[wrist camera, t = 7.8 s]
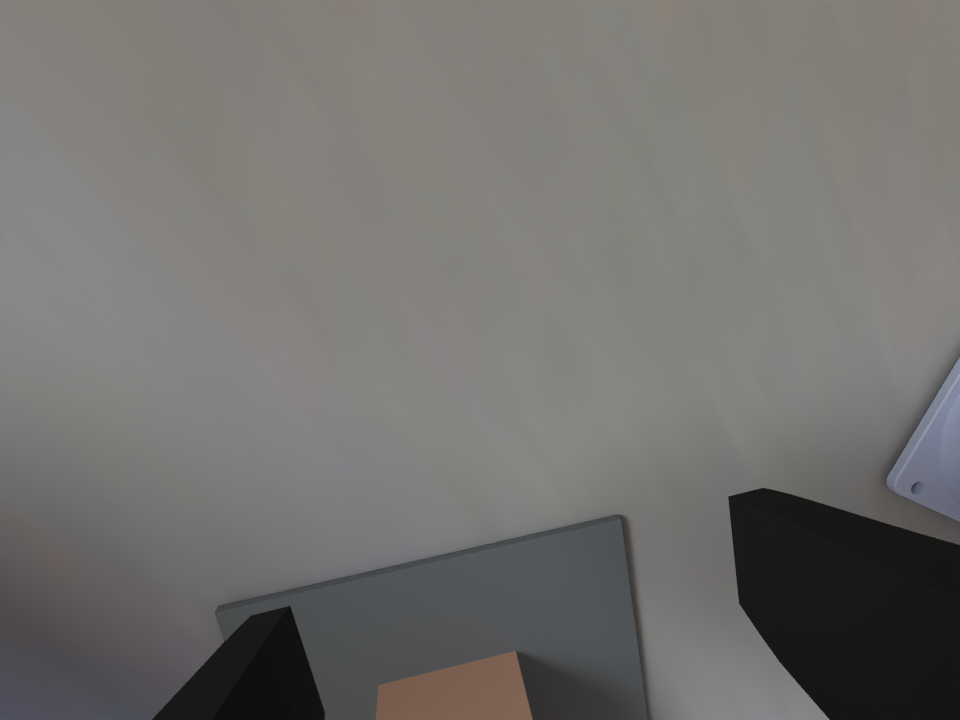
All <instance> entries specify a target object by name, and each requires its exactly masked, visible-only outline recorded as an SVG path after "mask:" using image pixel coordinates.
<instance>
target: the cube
mask: <svg viewBox="0 0 960 720" xmlns="http://www.w3.org/2000/svg"><path fill="white" fill-rule="evenodd" d="M376 720H533V719H532V715H531V711H530V707H529V703H528V699H527V695H526V691H525V687H524V683H523V678H522V674H521V670H520V666H519V662H518V658H517V654H516V651H513V652H509V653H505V654H501V655H497V656H493V657H489V658H485V659H481V660H477V661H473V662H469V663H465V664H461V665H457V666H453V667H449V668H445V669H441V670H437V671H433V672H429V673H425V674H421V675H417V676H413V677H409V678H405V679H401V680H397V681H393V682H389V683H385V684H381V685H378V697H377V709H376Z"/></svg>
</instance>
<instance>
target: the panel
mask: <svg viewBox="0 0 960 720" xmlns="http://www.w3.org/2000/svg"><path fill="white" fill-rule="evenodd" d="M287 606H291V609H292V612H293V615H294V618H295V622H296V625H297V628H298V631H299V634H300V637H301V640H302V643H303V646H304V649H305V652H306V655H307V659H308V662H309V665H310V668H311V671H312V674H313V677H314V680H315V683H316V686H317V689H318V693H319V696H320V699H321V702H322V705H323V708H324V711H325V720H376V709H377V697H378V685H381V684H385V683H389V682H393V681H397V680H401V679H405V678H409V677H413V676H417V675H421V674H425V673H429V672H433V671H437V670H441V669H445V668H449V667H453V666H457V665H461V664H465V663H469V662H473V661H477V660H481V659H485V658H489V657H493V656H497V655H501V654H505V653H509V652H513V651H516V654H517V658H518V662H519V666H520V670H521V674H522V678H523V683H524V687H525V691H526V695H527V699H528V703H529V707H530V711H531V715H532V719H533V720H648V717H647V710H646V702H645V695H644V687H643V680H642V672H641V665H640V657H639V650H638V642H637V635H636V627H635V620H634V612H633V605H632V597H631V590H630V582H629V575H628V567H627V559H626V552H625V544H624V537H623V529H622V522H621V518H620V517H619V515H615V516H610V517H606V518H602V519H597V520H593V521H589V522H584V523H580V524H576V525H571V526H567V527H562V528H558V529H554V530H549V531H545V532H541V533H536V534H532V535H528V536H523V537H519V538H515V539H510V540H506V541H502V542H497V543H493V544H488V545H484V546H480V547H475V548H471V549H467V550H462V551H458V552H454V553H449V554H445V555H441V556H436V557H432V558H427V559H423V560H419V561H414V562H410V563H406V564H401V565H397V566H393V567H388V568H384V569H380V570H375V571H371V572H367V573H362V574H358V575H353V576H349V577H345V578H340V579H336V580H332V581H327V582H323V583H319V584H314V585H310V586H306V587H301V588H297V589H292V590H288V591H284V592H279V593H275V594H271V595H266V596H262V597H258V598H253V599H249V600H245V601H240V602H236V603H232V604H227V605H223V606H218V608H217V610H216V612H215V614H216V617H217V620H218V623H219V626H220V629H221V632H222V635H223V638H224V641H226V640H227V639H228V638H229V637H230V636H231V635H232V634H233V633H234V632H235V631H236V630H237V629H238V628H239V627H240V626H241V625H242V624H243V623H244V622H245V621H246V620H247V619H248V618H249V617H250V616H251V615H255V614H259V613H263V612H267V611H271V610H275V609H279V608H283V607H287Z"/></svg>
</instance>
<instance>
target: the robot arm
mask: <svg viewBox="0 0 960 720" xmlns="http://www.w3.org/2000/svg"><path fill="white" fill-rule="evenodd" d="M913 484H914V486H913V487H912V485H913ZM887 486H888V488H889V489H890V490H891V491H892V492H894V493H896V494H898V495H900V496H903V497H905V498H907V499H909V500H912V501H914V502H916V503H918V504H920V505H923V506H925V507H927V508H929V509H932V510H934V511H936V512H938V513H940V514H943V515H945V516H947V517H949V518H952V519H954V520H956V521H958V522H960V357H959V359H958V360H957V362H956V364H955V365H954V367H953V369H952V370H951V372H950V374H949V375H948V377H947V379H946V380H945V382H944V384H943V385H942V387H941V389H940V390H939V392H938V394H937V395H936V397H935V399H934V400H933V402H932V404H931V405H930V407H929V409H928V410H927V412H926V414H925V415H924V417H923V419H922V420H921V422H920V424H919V425H918V427H917V429H916V430H915V432H914V433H913V435H912V437H911V438H910V440H909V442H908V443H907V445H906V447H905V448H904V450H903V452H902V453H901V455H900V457H899V458H898V460H897V462H896V463H895V465H894V467H893V468H892V470H891V472H890V473H889V475H888V478H887ZM728 498H729V508H730V518H731V527H732V537H733V547H734V557H735V567H736V576H737V586H738V596H739V604H740V605H741V607H742V608H743V610H744V611H745V613H746V614H747V616H748V617H749V619H750V620H751V622H752V623H753V625H754V626H755V628H756V629H757V631H758V632H759V634H760V635H761V636H762V638H763V639H764V641H765V642H766V643H767V645H768V646H769V648H770V649H771V650H772V652H773V653H774V655H775V656H776V657H777V659H778V660H779V662H780V663H781V664H782V665H783V666H784V667H785V669H786V670H787V671H788V672H789V673H790V674H791V676H792V677H793V678H794V679H795V680H796V681H797V683H798V684H799V685H800V686H801V687H802V688H803V689H804V691H805V692H806V693H807V694H808V695H809V696H810V697H811V699H812V700H813V701H814V702H815V703H816V704H817V706H818V707H819V708H820V709H821V710H822V711H823V712H824V713H825V715H826V716H827V717H828V718H829V719H830V720H960V545H957V544H954V543H950V542H947V541H943V540H940V539H936V538H933V537H929V536H926V535H922V534H919V533H916V532H912V531H909V530H906V529H902V528H899V527H896V526H892V525H889V524H886V523H883V522H879V521H876V520H873V519H870V518H866V517H863V516H860V515H857V514H854V513H850V512H847V511H844V510H841V509H837V508H834V507H831V506H828V505H825V504H821V503H818V502H815V501H811V500H808V499H805V498H801V497H798V496H794V495H791V494H787V493H783V492H779V491H775V490H770V489H766V488H761V489H757V490H753V491H749V492H745V493H741V494H737V495H733V496H729V497H728ZM152 720H325V711H324V708H323V705H322V702H321V699H320V696H319V693H318V689H317V686H316V683H315V680H314V677H313V674H312V671H311V668H310V665H309V662H308V659H307V655H306V652H305V649H304V646H303V643H302V640H301V637H300V634H299V631H298V628H297V625H296V622H295V618H294V615H293V612H292V609H291V606H287V607H283V608H279V609H275V610H271V611H267V612H263V613H259V614H255V615H251V616H250V617H249V618H248V619H247V620H246V621H245V622H244V623H243V624H242V625H241V626H240V627H239V628H238V629H237V630H236V631H235V632H234V633H233V634H232V635H231V636H230V637H229V638H228V639H227V640H226V641H225V642H224V643H223V644H222V645H221V646H220V647H219V648H218V649H217V651H216V652H215V653H214V654H213V655H212V656H211V657H210V658H209V659H208V660H207V661H206V662H205V663H204V665H203V666H202V667H201V668H200V669H199V670H198V671H197V672H196V673H195V674H194V675H193V676H192V678H191V679H190V680H189V681H188V682H187V683H186V684H185V685H184V686H183V687H182V688H181V689H180V690H179V691H178V693H177V694H176V695H175V696H174V697H173V698H172V699H171V700H170V701H169V702H168V703H167V704H166V705H165V706H164V708H163V709H162V710H161V711H160V712H159V713H158V714H157V715H156V716H155V717H154V718H153V719H152Z"/></svg>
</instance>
